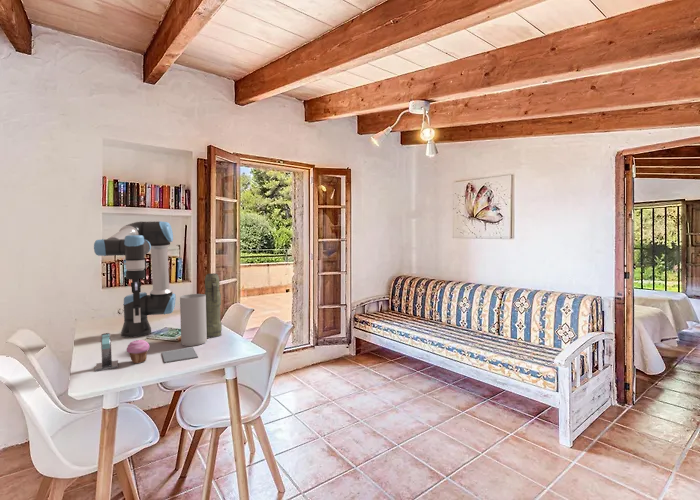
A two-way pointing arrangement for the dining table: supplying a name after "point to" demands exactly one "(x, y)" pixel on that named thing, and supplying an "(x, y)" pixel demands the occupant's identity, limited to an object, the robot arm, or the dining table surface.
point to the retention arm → (105, 340)
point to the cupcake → (138, 350)
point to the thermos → (213, 305)
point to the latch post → (106, 360)
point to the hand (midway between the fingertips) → (137, 321)
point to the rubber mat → (179, 355)
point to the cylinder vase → (193, 319)
